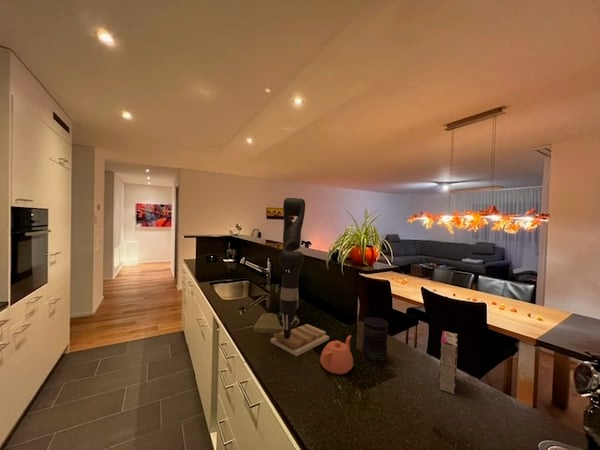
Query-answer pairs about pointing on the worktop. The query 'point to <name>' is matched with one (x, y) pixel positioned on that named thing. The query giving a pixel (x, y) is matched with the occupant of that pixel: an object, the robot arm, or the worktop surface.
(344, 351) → the teapot
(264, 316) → the decorative tile
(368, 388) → the worktop surface
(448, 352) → the candy bar box
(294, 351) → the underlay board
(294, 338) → the honey oak plank
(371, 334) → the storage jar
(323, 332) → the light oak plank
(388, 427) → the worktop surface
